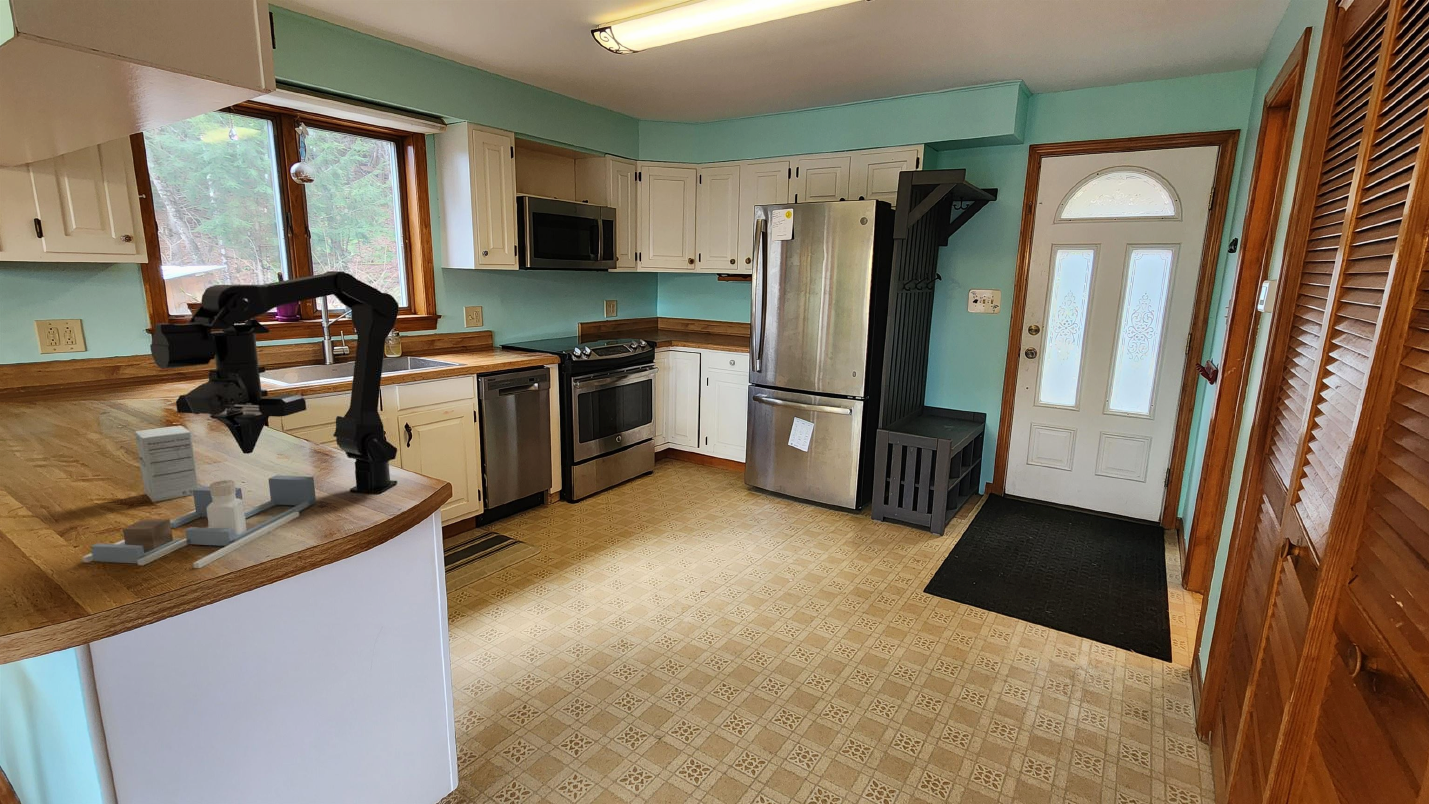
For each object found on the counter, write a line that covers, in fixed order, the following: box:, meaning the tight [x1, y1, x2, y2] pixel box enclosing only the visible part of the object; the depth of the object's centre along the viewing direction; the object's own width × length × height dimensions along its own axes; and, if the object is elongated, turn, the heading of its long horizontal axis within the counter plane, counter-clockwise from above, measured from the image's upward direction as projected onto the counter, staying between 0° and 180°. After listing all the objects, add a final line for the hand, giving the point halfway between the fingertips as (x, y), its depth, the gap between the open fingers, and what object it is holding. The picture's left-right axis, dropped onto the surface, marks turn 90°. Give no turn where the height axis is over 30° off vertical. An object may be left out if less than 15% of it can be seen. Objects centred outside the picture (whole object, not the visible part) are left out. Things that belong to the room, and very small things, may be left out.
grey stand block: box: [184, 474, 317, 547], centre depth 111 cm, size 20×7×5 cm, turn 176°
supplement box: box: [134, 425, 199, 503], centre depth 124 cm, size 7×7×13 cm
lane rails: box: [81, 508, 300, 569], centre depth 105 cm, size 21×18×1 cm
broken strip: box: [90, 485, 244, 564], centre depth 105 cm, size 20×7×5 cm, turn 176°
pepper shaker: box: [206, 479, 248, 536], centre depth 104 cm, size 4×4×10 cm
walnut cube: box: [122, 518, 174, 553], centre depth 101 cm, size 4×4×4 cm
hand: (248, 453), depth 109 cm, fingers closed
